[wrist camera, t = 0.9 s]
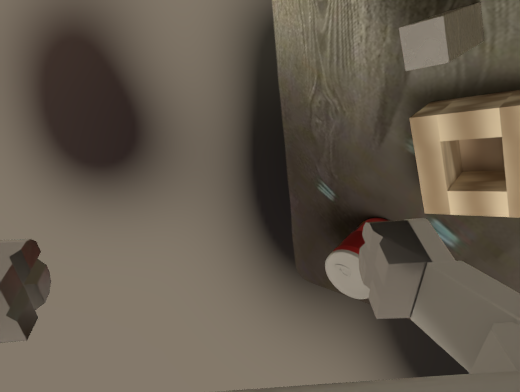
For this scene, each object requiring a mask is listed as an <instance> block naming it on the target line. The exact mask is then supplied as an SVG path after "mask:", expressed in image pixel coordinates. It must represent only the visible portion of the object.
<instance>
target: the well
mask: <svg viewBox="0 0 520 392" xmlns="http://www.w3.org/2000/svg"><path fill="white" fill-rule="evenodd" d="M409 119H410V125H411V131H412V137H413V144H414V150H415V156H416V162H417V168H418V174H419V181H420V187H421V193H422V199H423V205H424V211H425V213H428V214H450V215H473V216H495V217H518V218H520V90H514V91H507V92H500V93H492V94H485V95H478V96H471V97H463V98H456V99H449V100H442V101H434V102H430V103H429V104H428V105H426V106H425V107H424V108H422V109H421V110H420V111H418V112H417V113H416V114H414V115H413V116H412V117H410V118H409Z"/></svg>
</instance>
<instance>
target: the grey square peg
mask: <svg viewBox="0 0 520 392" xmlns="http://www.w3.org/2000/svg"><path fill="white" fill-rule="evenodd" d="M399 32H400V38H401V45H402V51H403V57H404V63H405V70H406V71H409V70H414V69H419V68H424V67H429V66H434V65H439V64H444V63H449V62H451V61H452V60H454V59H456V58H457V57H459V56H461V55H462V54H464V53H465V52H467V51H469V50H470V49H472V48H474V47H475V46H477V45H478V44H480V43H482V42H483V41H484V32H483V22H482V11H481V2H479V3H475V4H472V5H468V6H465V7H461V8H457V9H454V10H450V11H447V12H443V13H440V14H437V15H434V16H431V17H429V18H426V19H423V20H420V21H417V22H414V23H412V24H409V25H406V26H403V27H400V28H399Z"/></svg>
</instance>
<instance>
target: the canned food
mask: <svg viewBox="0 0 520 392" xmlns="http://www.w3.org/2000/svg"><path fill="white" fill-rule="evenodd" d="M379 221H388V220H385V219H382V218H371V219H368V220H366V221H364V222H362V223H361V224H360V225H359V226H358V227H357V228H356V229H355V230H354V231H353V232H352V233H351V234H350V235H349V236H348V237H347V238H346V239H345V240H344V241H343V242H342V243H340V244H339V245H338V246H337V247H336V248H335V249H334V251H333V252H332V253H331V254H330V255H329V256H328V258H327V259H326V262H325V269H326V273H327V276H328V278H329V279H330V281H331V282H332V284H333V285H334V286H335V287H336V288H337V289H338V290H339V291H341V292H342V293H344V294H346V295H347V296H350V297H352V298H356V299H366V298H368V297H369V292H370V289H369V288H368V287H367V286H365V285H364V284H363V281H362V279H361V275H360V271H359V251H360V248H361V247H362V246H363V245H364V244H365V241H364V238H363V236H362V232H363V227H364V225H365V223H366V222H379Z"/></svg>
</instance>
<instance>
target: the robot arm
mask: <svg viewBox="0 0 520 392" xmlns="http://www.w3.org/2000/svg"><path fill="white" fill-rule="evenodd" d="M362 236H363V238H364V241H365V244H364V245H363V246H362V247H361V248H360V251H359V271H360V275H361V279H362V281H363V284H364V285H365V286H367V287H368V288H369V289H370V292H369V297H368V298H369V301H370V303H371V306H372V308H373V311H374V314H375V316H376V319H385V318H411V320H412V321H413V322H414V323H415V324H416V325H418V326H419V327H420V328H421V329H422V330H423V331H424V332H425V333H427V334H428V335H429V336H430V337H431V338H432V339H433V340H434V341H435V342H436V343H438V344H439V345H440V346H441V347H442V348H443V349H444V350H445V351H446V352H447V353H449V354H450V355H451V356H452V357H453V358H454V359H455V360H457V362H459V363H460V364H461V365H462V366H463V367H464V368H465V369H466V370H467V371H468V372H470V374H462V375H447V376H434V377H419V378H404V379H391V380H390V379H389V380H375V381H360V382H346V383H332V384H318V385H303V386H289V387H275V388H260V389H246V390H232V391H218V392H520V294H519V293H518V292H516V291H514V290H512V289H511V288H509V287H507V286H505V285H504V284H502V283H500V282H498V281H496V280H495V279H493V278H491V277H489V276H488V275H486V274H484V273H482V272H481V271H479V270H477V269H475V268H473V267H472V266H470V265H468V264H466V263H465V262H463V261H455V259H454V258H453V256H452V255H451V253H450V252H449V250H448V249H447V247H446V246H445V244H444V243H443V241H442V240H441V238H440V237H439V236H438V234H437V233H436V231H435V230H434V228H433V227H432V225H431V224H430V222H429V221H428V220H427V219H425V218H418V219H405V220H397V221H379V222H366V223H365V225H364V227H363V232H362ZM40 252H41V251H40V249H39V247H38V245H37V242H36V241H34V240H31V239H20V240H0V343H5V342H16V341H27V340H28V337H29V335H30V333H31V331H32V329H33V327H34V325H35V323H36V321H37V319H38V316H37V314H36V312H35V310H36V309H37V308H39V307H40V306H41V305H43V304H44V303H45V302H46V299H47V297H48V295H49V291H50V283H51V280H50V273H49V270H48V268H47V265H46V264H44V263H43V262H41V261H40V260H38V259H37V258H38V256H39V254H40Z"/></svg>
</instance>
